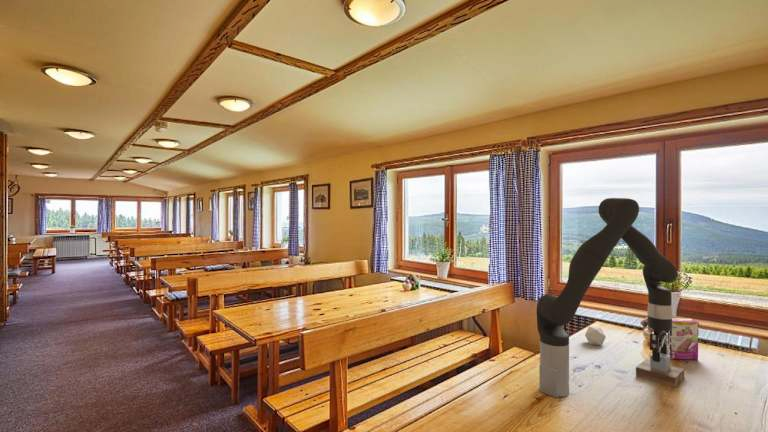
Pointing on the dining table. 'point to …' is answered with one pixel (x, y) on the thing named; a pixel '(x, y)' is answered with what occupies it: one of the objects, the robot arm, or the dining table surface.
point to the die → (595, 336)
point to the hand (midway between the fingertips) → (659, 358)
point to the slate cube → (661, 363)
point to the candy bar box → (683, 339)
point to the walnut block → (660, 374)
